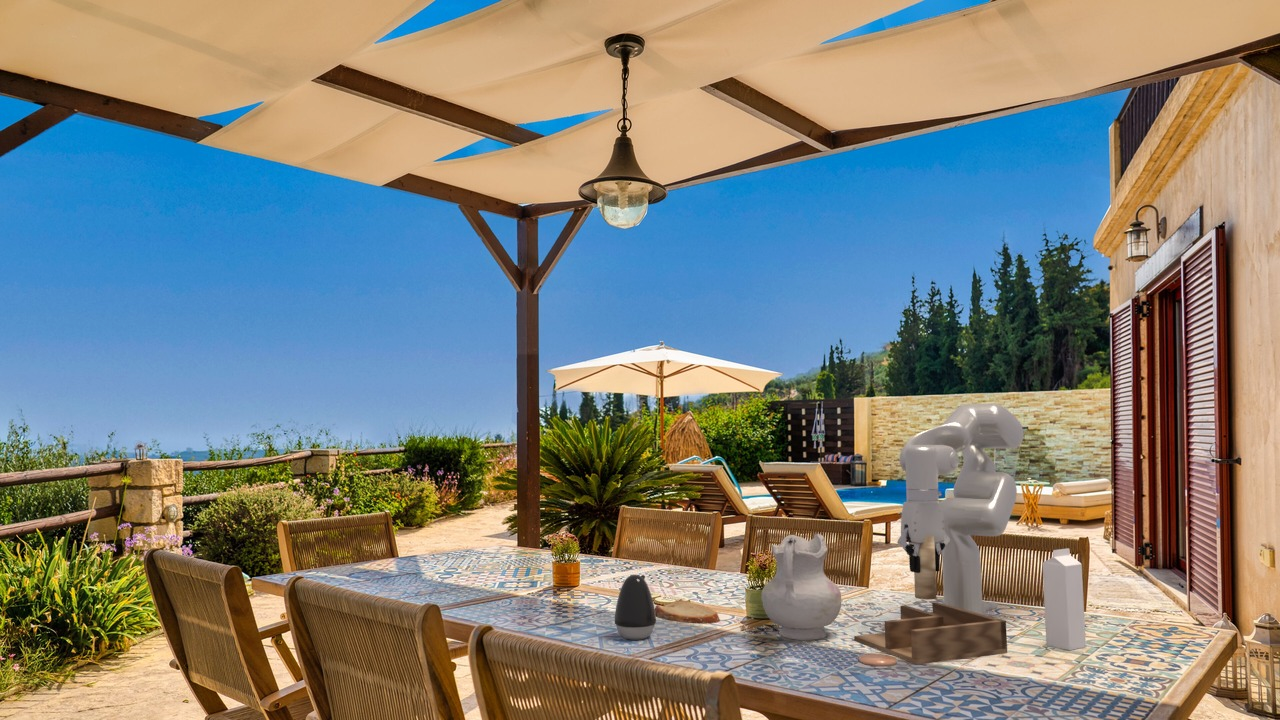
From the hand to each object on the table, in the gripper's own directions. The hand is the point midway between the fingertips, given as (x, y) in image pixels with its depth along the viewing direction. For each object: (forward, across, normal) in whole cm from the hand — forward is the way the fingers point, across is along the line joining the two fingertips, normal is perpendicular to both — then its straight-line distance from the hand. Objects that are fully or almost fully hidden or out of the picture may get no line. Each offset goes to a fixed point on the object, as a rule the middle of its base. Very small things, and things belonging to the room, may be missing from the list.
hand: (924, 570), depth 217 cm
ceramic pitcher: (+16, +28, -12) cm, 34 cm away
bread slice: (+16, +45, -44) cm, 65 cm away
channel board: (+16, +6, +8) cm, 19 cm away
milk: (+16, -22, +21) cm, 34 cm away
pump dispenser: (+16, +66, -27) cm, 73 cm away
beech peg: (+6, 0, 0) cm, 6 cm away
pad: (+16, +24, +15) cm, 33 cm away
